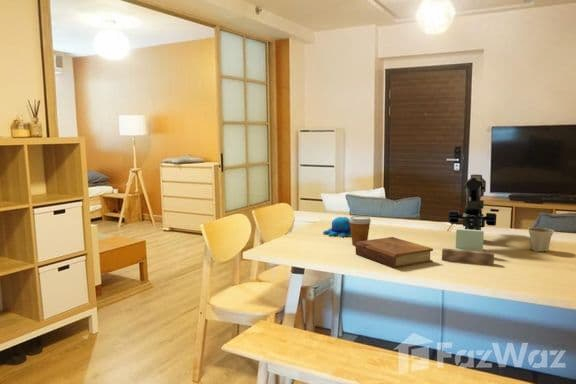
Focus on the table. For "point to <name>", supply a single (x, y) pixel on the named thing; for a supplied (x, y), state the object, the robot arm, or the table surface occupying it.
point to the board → (468, 256)
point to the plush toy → (339, 227)
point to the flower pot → (540, 238)
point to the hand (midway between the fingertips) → (470, 234)
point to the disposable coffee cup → (359, 228)
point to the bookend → (469, 240)
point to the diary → (394, 252)
